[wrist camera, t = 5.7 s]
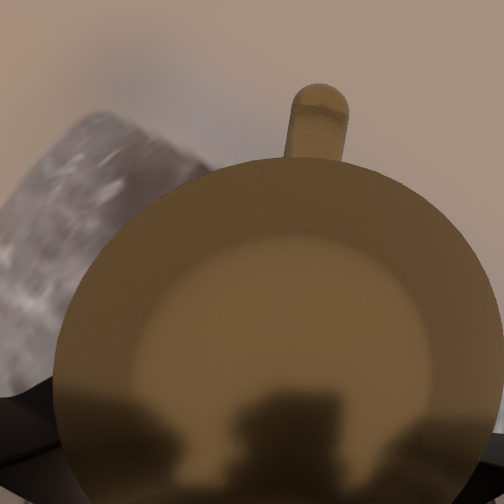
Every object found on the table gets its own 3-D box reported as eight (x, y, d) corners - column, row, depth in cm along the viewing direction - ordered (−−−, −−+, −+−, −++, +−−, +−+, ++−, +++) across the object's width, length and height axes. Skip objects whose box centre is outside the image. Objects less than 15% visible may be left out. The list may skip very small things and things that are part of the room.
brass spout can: (288, 400, 14) (449, 541, 1) (192, 389, 14) (72, 547, 1) (303, 267, 16) (460, 100, 4) (211, 254, 16) (174, 32, 3)
